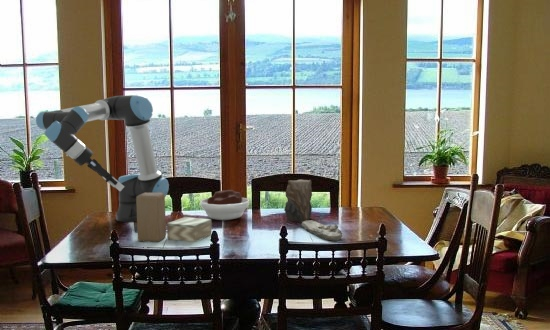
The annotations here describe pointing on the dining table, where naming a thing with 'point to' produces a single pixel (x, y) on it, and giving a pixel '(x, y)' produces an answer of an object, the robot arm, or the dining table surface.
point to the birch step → (189, 229)
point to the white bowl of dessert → (225, 205)
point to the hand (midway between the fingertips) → (119, 186)
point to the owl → (298, 200)
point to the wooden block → (151, 217)
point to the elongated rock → (322, 230)
